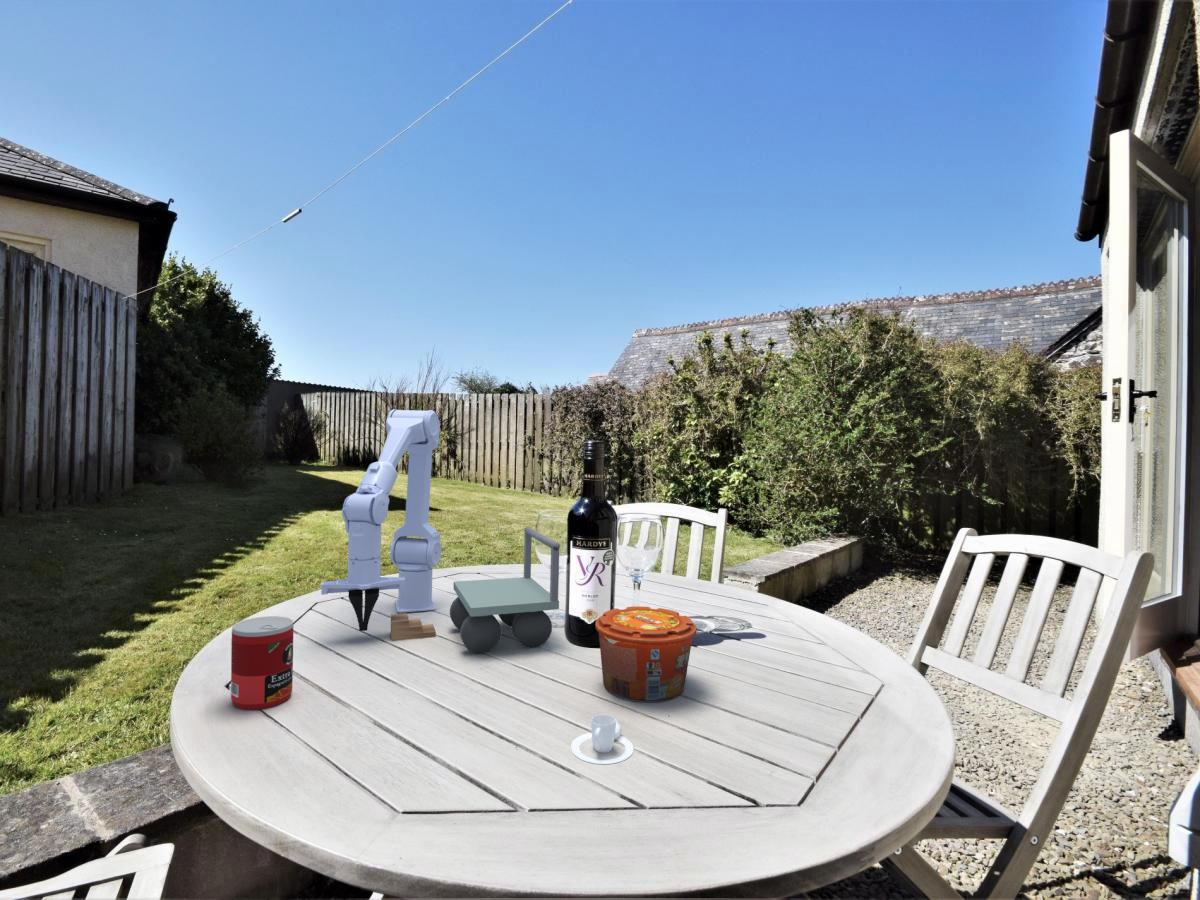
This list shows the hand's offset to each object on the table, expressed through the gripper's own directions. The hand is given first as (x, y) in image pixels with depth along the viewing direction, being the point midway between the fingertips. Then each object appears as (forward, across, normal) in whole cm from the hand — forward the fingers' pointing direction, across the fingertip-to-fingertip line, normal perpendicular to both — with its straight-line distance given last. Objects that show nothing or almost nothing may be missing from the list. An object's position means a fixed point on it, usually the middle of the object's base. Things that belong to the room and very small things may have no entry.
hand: (363, 629), depth 116 cm
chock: (+2, +9, 0) cm, 9 cm away
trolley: (+2, +24, -6) cm, 25 cm away
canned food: (+2, -14, -23) cm, 27 cm away
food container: (+2, +41, -36) cm, 55 cm away
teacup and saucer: (+3, +31, -52) cm, 61 cm away
